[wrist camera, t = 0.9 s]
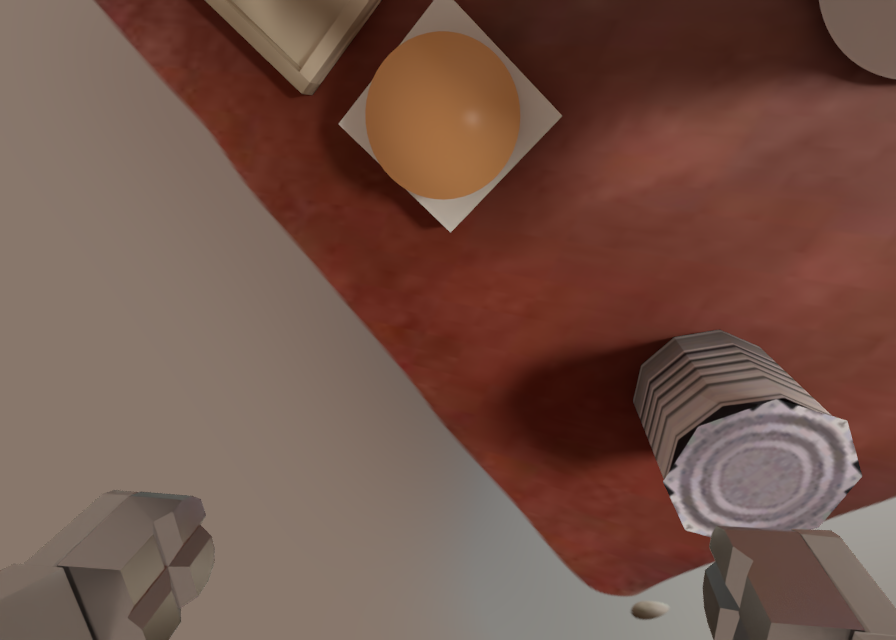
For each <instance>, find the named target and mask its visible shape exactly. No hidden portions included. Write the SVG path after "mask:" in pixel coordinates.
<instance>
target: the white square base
mask: <svg viewBox="0 0 896 640" xmlns="http://www.w3.org/2000/svg"><path fill="white" fill-rule="evenodd" d="M437 31H449V32H455V33H461V34H464V35H467V36H470V37H472V38H474V39H476V40H478V41H480V42H481V43H483V44H484V45H486V46H487V47H488V48H490V49H491V50H492V51H493V52H494V53H495V54H496V55H497V56H498V57H499V58H500V60H501V61H502V62H503V63H504V65H505V66H506V68H507V69H508V71H509V73H510V75H511V77H512V79H513V81H514V84H515V87H516V90H517V93H518V98H519V104H520V128H519V133H518V138H517V142H516V144H515V147H514V150H513V152H512V154H511V156H510V159H509V160H508V162H507V163H506V165H505V166H504V168H503V169H502V170H501V172H500V173H499V174H498V175H497V176H496V177H495V178H494V179H493V180H492V181H491V182H490V183H489V184H487V185H486V186H484V187H483V188H481V189H480V190H478V191H476V192H474V193H472V194H469V195H467V196H464V197H460V198H455V199H445V200H442V199H431V198H426V197H423V196H420V195H417V194H414V193H412V192H410V191H408V190H407V191H408V192H409V193H410V194H411V195H412V196H413V197H414V198H415V199H416V200H417V201H418V202H419V203H420V204H421V205H422V206H423V207H425V208H426V209H427V210H428V211H429V212H430V213H431V214H432V215H433V216H434V217H435V218H436V219H437V220H438V221H439V222H440V223H441V224H442V225H443V226H444V227H445V228H446V229H447V230H448V231H449V232H450V233H451V232H452V231H453V230H454V228H455V227H456V226H457V225H458V224H459V223H460V222H461V221H462V220H463V219H464V218H465V217H466V216H467V215H468V214H469V213H470V212H471V211H472V210H473V209H474V208H475V207H476V206H477V205H478V203H479V202H480V201H481V200H482V199H483V198H484V197H485V196H486V195H487V194H488V193H489V192H490V191H491V190H492V189H493V188H494V187H495V186H496V185H497V184H498V183H499V182H500V181H501V179H502V178H503V177H504V176H505V175H506V174H507V173H508V172H509V171H510V170H511V169H512V168H513V167H514V166H515V165H516V164H517V163H518V162H519V161H520V160H521V159H522V158H523V157H524V156H525V154H526V153H527V152H528V151H529V150H530V149H531V148H532V147H533V146H534V145H535V144H536V143H537V142H538V141H539V140H540V139H541V138H542V137H543V136H544V135H545V134H546V133H547V132H548V131H549V129H550V128H551V127H552V126H553V125H554V124H555V123H556V122H557V121H558V120H559V119H560V118H561V117H562V115H561V114H560V113H559V112H558V111H557V110H556V109H555V108H554V106H553V105H552V104H551V103H550V102H549V101H548V100H547V99H546V98H545V97H544V96H543V95H542V94H541V93H540V92H539V90H538V89H537V88H536V87H535V86H534V85H533V84H532V83H531V82H530V81H529V80H528V79H527V78H526V77H525V76H524V74H523V73H522V72H521V71H520V70H519V69H518V68H517V67H516V66H515V65H514V64H513V63H512V62H511V61H510V60H509V58H508V57H507V56H506V55H505V54H504V53H503V52H502V51H501V50H500V49H499V48H498V47H497V46H496V45H495V44H494V42H493V41H492V40H491V39H490V38H489V37H488V36H487V35H486V34H485V33H484V32H483V31H482V30H481V29H480V28H479V27H478V25H477V24H476V23H475V22H474V21H473V20H472V19H471V18H470V17H469V16H468V15H467V14H466V13H465V12H464V11H463V9H462V8H461V7H460V6H459V5H458V4H457V3H456V2H455V1H454V0H434V1H433V2H432V3H431V5H430V6H429V7H428V9H427V10H426V11H425V12H424V14H423V15H422V16H421V18H420V19H419V20H418V21H417V23H416V24H415V25H414V27H413V28H412V29H411V31H410V32H409V33H408V34H407V36H406V37H405V38H404V40H403V41H402V42H401V43H400V45H401V44H403V43H404V42H406V41H407V40H409V39H411V38H414V37H416V36H418V35H422V34H425V33H429V32H437ZM371 82H372V81H371ZM371 82H370V84H369V85H368V86H367V88H366V89H365V90H364V91H363V93H362V94H361V95H360V97H359V98H358V99H357V100H356V102H355V103H354V104H353V106H352V107H351V108H350V110H349V111H348V112H347V113H346V115H345V116H344V117H343V119H342V120H341V121H340V122H339V125H340V126H341V127H342V128H343V129H344V130H345V131H346V132H347V133H348V134H349V135H350V136H351V137H352V138H353V139H354V140H355V141H356V142H357V143H358V144H359V145H360V146H361V147H362V148H363V149H365V150H366V151H367V152H368V153H369V154H370V155H371V156H372V157H373V158H374V159H375V160H376V161H377V162H378V160H377V159H376V157H375V155H374V153H373V150H372V148H371V145H370V142H369V139H368V135H367V129H366V120H365V110H366V100H367V96H368V91H369V88H370V85H371ZM378 163H379V162H378Z"/></svg>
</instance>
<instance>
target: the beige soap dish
mask: <svg viewBox="0 0 896 640" xmlns="http://www.w3.org/2000/svg"><path fill="white" fill-rule="evenodd" d="M205 1H206V2H207V3H208V4H209V5H210V6H211V7H212V8H213V9H214V10H215V11H216V12H217V13H218V14H219V15H221V16H222V17H223V18H224V19H225V20H226V21H227V22H228V23H229V24H230V25H231V26H232V27H233V28H234V29H235V30H236V31H237V32H238V33H239V34H240V35H241V36H242V37H243V38H244V39H245V40H246V41H247V42H249V43H250V44H251V45H252V46H253V47H254V48H255V49H256V50H257V51H258V52H259V53H260V54H261V55H262V56H263V57H264V58H265V59H266V60H267V61H268V62H269V63H270V64H271V65H272V66H273V67H274V68H275V69H277V70H278V71H279V72H280V73H281V74H282V75H283V76H284V77H285V78H286V79H287V80H288V81H289V82H290V83H291V84H292V85H293V86H294V87H295V88H296V89H297V90H298V91H299V92H300V93H301V94H307V95H313V94H314V92H315V91H316V89H317V88H318V87H319V85H320V84H321V83H322V81H323V80H324V79H325V77H326V76H327V74H328V73H329V72H330V70H331V69H332V68H333V66H334V65H335V63H336V62H337V61H338V59H339V58H340V57H341V55H342V54H343V53H344V51H345V50H346V48H347V47H348V46H349V44H350V43H351V42H352V40H353V39H354V37H355V36H356V35H357V33H358V32H359V31H360V29H361V28H362V27H363V25H364V24H365V22H366V21H367V20H368V18H369V17H370V16H371V14H372V13H373V12H374V10H375V9H376V7H377V6H378V5H379V3H380V2H381V1H382V0H205Z"/></svg>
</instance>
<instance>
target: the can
mask: <svg viewBox="0 0 896 640" xmlns="http://www.w3.org/2000/svg"><path fill="white" fill-rule="evenodd" d="M633 403H634V405H635V408H636V410H637V413H638V415H639V418H640V420H641V423H642V425H643V428H644V430H645V433H646V435H647V438H648V440H649V443H650V445H651V448H652V450H653V453H654V455H655V458H656V460H657V463H658V465H659V468H660V470H661V473H662V475H663V478H664V481H663V483H664V485H665V487H666V489H667V491H668V494H669V496H670V498H671V500H672V502H673V505H674V507H675V509H676V511H677V513H678V515H679V518H680V520H681V522H682V524H683V526H684V529H685V530H687V531H691V532H694V533H698V534H701V535H705V536H708V537H711V535H712V532H713V531H714V529H715V527H716V526H731V527H751V528H771V529H787V530H791V529H805V530H811V529H814V528H817V527H819V526H820V525H821V524H822V523H823V521H824V520H825V519H826V518H827V517H828V516H829V514H830V513H831V512H832V511H833V510H834V509H835V508H836V507H837V505H838V504H839V503H840V502H841V500H842V499H843V498H844V497H845V496H846V494H847V493H848V492H849V491H850V490H851V489H852V487H853V486H854V485H855V484H856V483H857V482H858V480H859V479H860V478H861V477H862V474H861V470H860V466H859V462H858V459H857V455H856V451H855V448H854V444H853V440H852V437H851V433H850V429H849V425H848V422H847V421H846V420H843V419H840V418H836V417H833V416H832V415H830V414H829V413H828V412H827V411H826V410H825V409H824V408H823V407H822V406H821V405H820V404H819V403H818V402H817V401H816V400H815V399H814V398H813V397H812V396H810V395H809V394H808V393H807V392H806V391H805V390H804V389H803V388H802V387H801V386H800V385H799V384H798V383H797V382H796V381H795V380H794V379H793V378H792V377H790V376H789V375H788V374H787V373H786V372H785V371H784V370H783V369H782V368H781V367H780V366H779V365H778V364H777V363H776V362H775V361H774V360H773V359H772V358H770V357H769V356H768V355H767V354H766V353H765V352H764V351H763V350H762V349H761V348H760V347H759V346H756V345H754V344H752V343H749V342H747V341H745V340H743V339H740V338H738V337H736V336H733V335H731V334H729V333H726V332H724V331H722V330H714V331H708V332H702V333H696V334H690V335H684V336H678V337H674V338H672V339H671V340H670V341H669V342H668V343H666V344H665V345H664V346H663V347H662V348H661V349H659V350H658V351H657V352H656V353H655V354H654V355H652V356H651V357H650V358H649V359H648V360H646V361H645V362H644V363H643V364H642V365H641V368H640V372H639V377H638V381H637V385H636V390H635V394H634V398H633Z"/></svg>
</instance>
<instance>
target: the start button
mask: <svg viewBox="0 0 896 640" xmlns="http://www.w3.org/2000/svg"><path fill="white" fill-rule="evenodd" d="M365 120H366V129H367V135H368V139H369V142H370V145H371V148H372V150H373V153H374V155H375V157H376V159H377V160H378V162H379V164H380V165H381V166H382V168H383V169H384V171H385V172H386V173H387V174H388V175H389V176H390V177H391V178H392V179H393V180H394V181H395V182H396V183H398V184H399V185H400V186H402V187H403V188H405V189H406V190H408V191H410V192H412V193H414V194H417V195H420V196H423V197H426V198H431V199H442V200H445V199H455V198H460V197H464V196H467V195H469V194H472V193H474V192H476V191H478V190H480V189H481V188H483V187H484V186H486V185H487V184H489V183H490V182H491V181H492V180H493V179H494V178H495V177H496V176H497V175H498V174H499V173H500V172H501V170H502V169H503V168H504V166H505V165H506V163H507V162H508V160H509V159H510V156H511V154H512V152H513V150H514V147H515V144H516V142H517V138H518V133H519V128H520V104H519V98H518V93H517V90H516V87H515V84H514V81H513V79H512V77H511V75H510V73H509V71H508V69H507V68H506V66H505V65H504V63H503V62H502V61H501V60H500V58H499V57H498V56H497V55H496V54H495V53H494V52H493V51H492V50H491V49H490V48H488V47H487V46H486V45H484V44H483V43H481V42H480V41H478V40H476V39H474V38H472V37H470V36H467V35H464V34H461V33H455V32H449V31H437V32H429V33H425V34H422V35H418V36H416V37H414V38H411V39H409V40H407V41H406V42H404V43H403V44H401V45H399V46H398V47H397V48H396V49H395V50H393V51H392V52H391V53H390V54H389V55H388V56H387V58H386V59H385V60H384V61H383V62H382V64H381V65H380V67H379V68H378V70H377V72H376V74H375V76H374V78H373V80H372V82H371V85H370V88H369V91H368V96H367V100H366V110H365Z"/></svg>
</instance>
